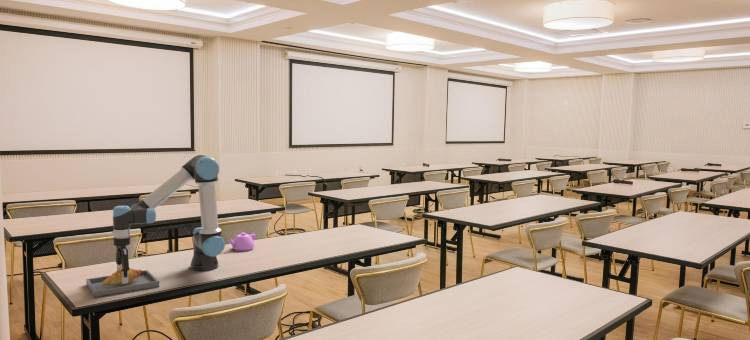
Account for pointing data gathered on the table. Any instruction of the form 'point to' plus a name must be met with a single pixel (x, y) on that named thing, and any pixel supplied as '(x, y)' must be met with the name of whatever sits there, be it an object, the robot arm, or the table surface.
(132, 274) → the croissant
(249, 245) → the teapot
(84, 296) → the table surface
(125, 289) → the serving tray
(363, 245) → the table surface
